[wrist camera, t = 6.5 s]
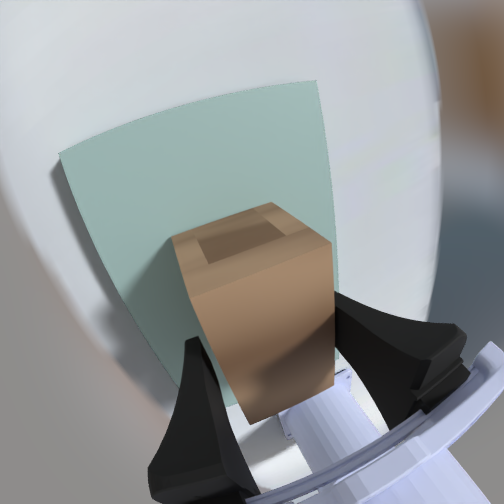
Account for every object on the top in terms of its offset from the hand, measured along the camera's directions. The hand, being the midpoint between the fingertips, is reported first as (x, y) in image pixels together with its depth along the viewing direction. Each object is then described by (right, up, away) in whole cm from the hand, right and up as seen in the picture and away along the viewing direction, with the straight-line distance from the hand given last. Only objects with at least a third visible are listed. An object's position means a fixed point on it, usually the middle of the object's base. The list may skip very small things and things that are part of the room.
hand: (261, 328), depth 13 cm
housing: (-1, +1, +2) cm, 3 cm away
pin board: (-1, +2, +3) cm, 4 cm away
